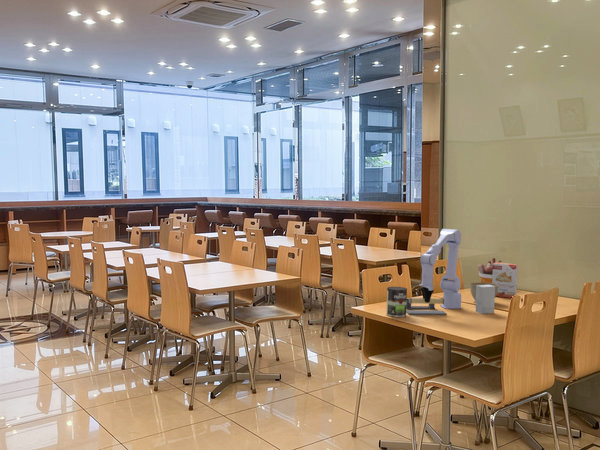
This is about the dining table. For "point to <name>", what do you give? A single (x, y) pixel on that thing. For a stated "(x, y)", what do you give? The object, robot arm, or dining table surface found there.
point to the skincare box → (485, 299)
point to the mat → (425, 312)
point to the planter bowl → (473, 285)
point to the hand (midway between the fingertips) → (426, 301)
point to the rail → (422, 300)
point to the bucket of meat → (486, 272)
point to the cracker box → (505, 279)
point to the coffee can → (396, 301)
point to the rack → (408, 306)
